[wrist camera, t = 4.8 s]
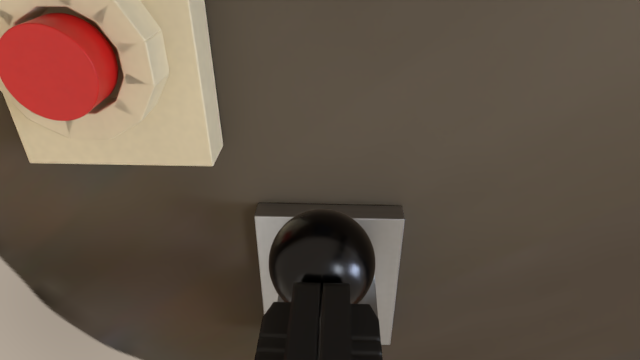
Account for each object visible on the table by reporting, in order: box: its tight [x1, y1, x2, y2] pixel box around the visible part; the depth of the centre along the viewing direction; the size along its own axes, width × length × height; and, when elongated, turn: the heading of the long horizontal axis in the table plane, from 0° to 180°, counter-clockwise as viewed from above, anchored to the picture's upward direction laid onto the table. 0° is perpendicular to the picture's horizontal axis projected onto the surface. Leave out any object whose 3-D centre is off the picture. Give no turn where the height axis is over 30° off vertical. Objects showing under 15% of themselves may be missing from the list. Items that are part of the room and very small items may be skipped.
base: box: [254, 203, 405, 345], centre depth 23 cm, size 10×8×12 cm
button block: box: [0, 0, 223, 166], centre depth 19 cm, size 11×9×4 cm
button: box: [0, 13, 118, 121], centre depth 17 cm, size 4×4×2 cm
